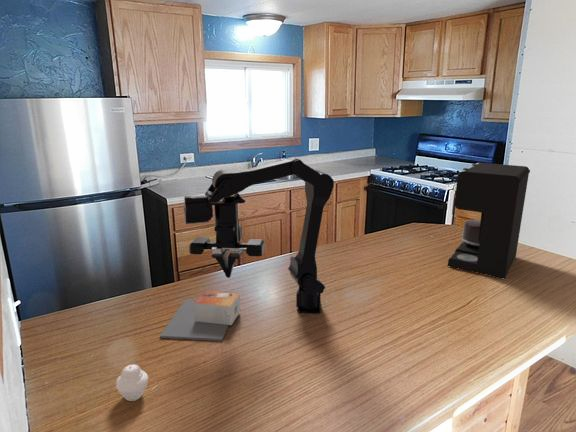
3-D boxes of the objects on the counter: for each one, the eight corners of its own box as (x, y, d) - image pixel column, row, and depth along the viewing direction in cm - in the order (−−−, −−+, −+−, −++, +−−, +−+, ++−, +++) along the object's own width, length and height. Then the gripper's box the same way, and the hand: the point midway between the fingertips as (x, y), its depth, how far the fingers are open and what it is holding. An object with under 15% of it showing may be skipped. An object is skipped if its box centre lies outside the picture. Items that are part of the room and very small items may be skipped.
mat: (238, 303, 122) (238, 301, 122) (222, 340, 103) (222, 338, 103) (186, 300, 123) (185, 299, 123) (160, 337, 104) (159, 335, 104)
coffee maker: (464, 244, 170) (475, 160, 161) (518, 254, 159) (532, 164, 150) (445, 266, 148) (455, 169, 139) (505, 279, 137) (521, 175, 128)
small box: (231, 306, 107) (192, 303, 109) (231, 325, 109) (194, 322, 110) (240, 293, 115) (204, 289, 117) (240, 311, 116) (205, 307, 118)
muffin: (110, 402, 82) (106, 371, 80) (132, 382, 88) (128, 354, 86) (136, 409, 80) (132, 379, 78) (156, 389, 86) (153, 360, 84)
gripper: (267, 213, 112) (268, 266, 116) (200, 211, 113) (203, 264, 117) (260, 225, 101) (261, 283, 105) (186, 222, 103) (190, 280, 107)
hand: (228, 277), depth 109 cm, fingers closed
